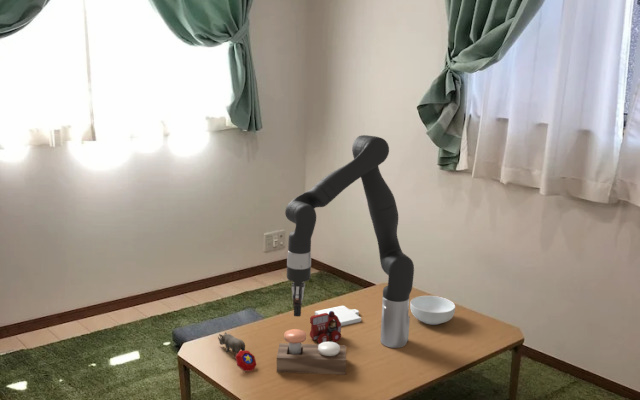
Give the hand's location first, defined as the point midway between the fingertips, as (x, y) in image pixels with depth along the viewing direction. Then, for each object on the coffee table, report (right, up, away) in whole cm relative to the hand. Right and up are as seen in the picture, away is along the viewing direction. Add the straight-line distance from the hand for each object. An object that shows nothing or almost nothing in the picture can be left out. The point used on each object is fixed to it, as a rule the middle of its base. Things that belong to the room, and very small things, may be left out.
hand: (297, 315), depth 197 cm
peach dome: (-1, -13, +3) cm, 13 cm away
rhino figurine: (-23, -15, +13) cm, 30 cm away
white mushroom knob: (+10, -17, +4) cm, 20 cm away
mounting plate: (+14, -9, +40) cm, 43 cm away
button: (-17, -18, +2) cm, 24 cm away
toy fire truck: (+9, -13, +22) cm, 28 cm away
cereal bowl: (+50, -10, +40) cm, 65 cm away
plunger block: (+5, -17, +4) cm, 18 cm away
